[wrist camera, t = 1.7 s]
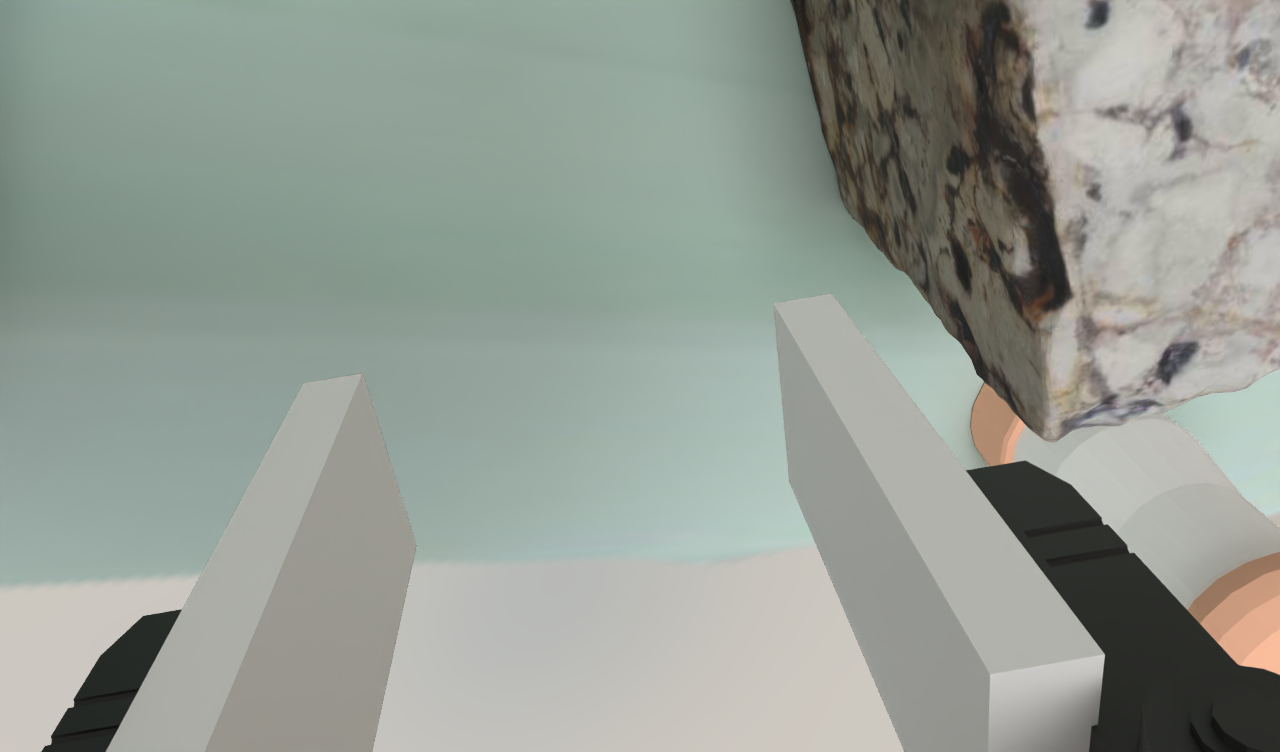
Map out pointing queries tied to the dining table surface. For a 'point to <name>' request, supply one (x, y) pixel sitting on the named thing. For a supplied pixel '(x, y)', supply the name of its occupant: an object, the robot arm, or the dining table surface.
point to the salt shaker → (1163, 516)
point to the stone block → (1069, 187)
